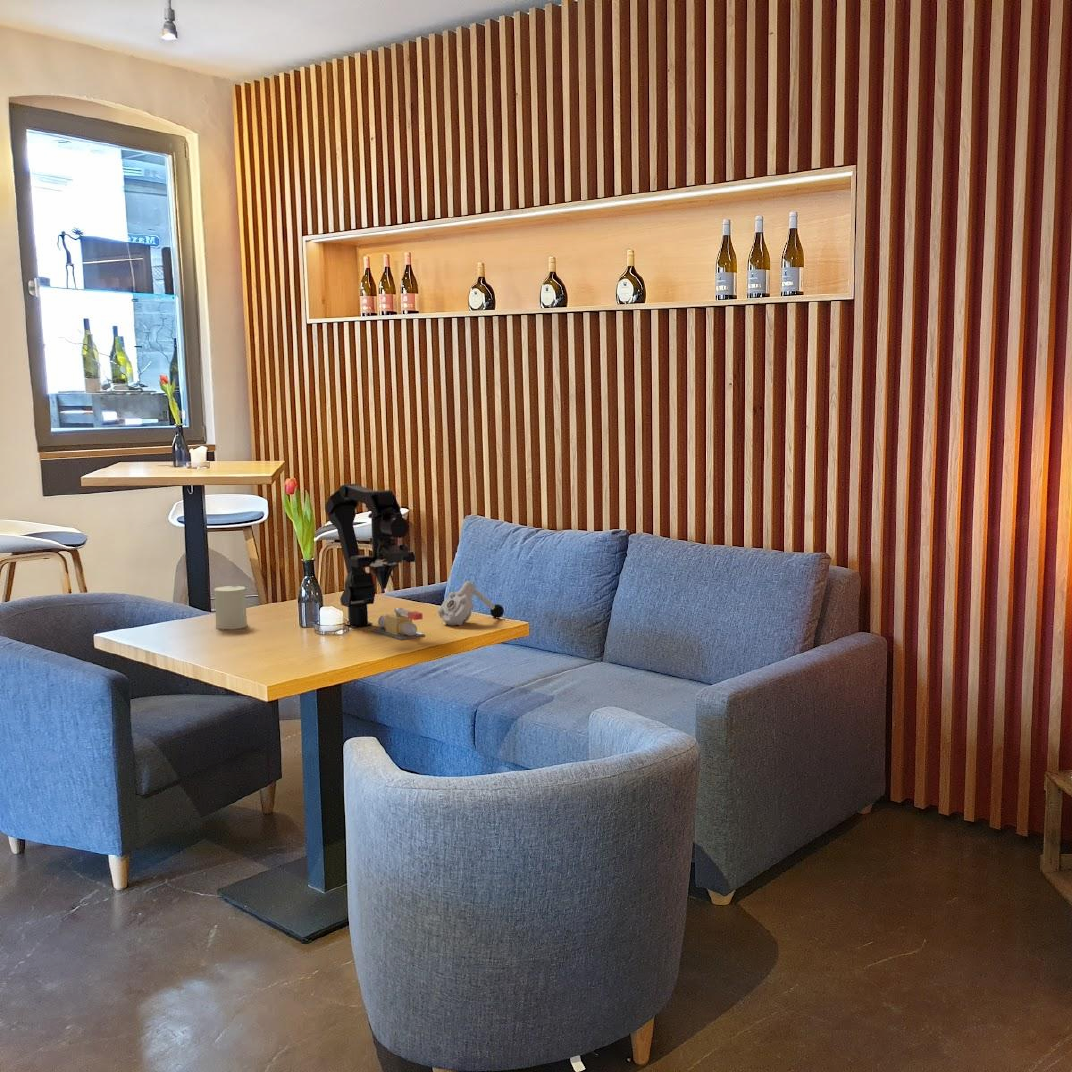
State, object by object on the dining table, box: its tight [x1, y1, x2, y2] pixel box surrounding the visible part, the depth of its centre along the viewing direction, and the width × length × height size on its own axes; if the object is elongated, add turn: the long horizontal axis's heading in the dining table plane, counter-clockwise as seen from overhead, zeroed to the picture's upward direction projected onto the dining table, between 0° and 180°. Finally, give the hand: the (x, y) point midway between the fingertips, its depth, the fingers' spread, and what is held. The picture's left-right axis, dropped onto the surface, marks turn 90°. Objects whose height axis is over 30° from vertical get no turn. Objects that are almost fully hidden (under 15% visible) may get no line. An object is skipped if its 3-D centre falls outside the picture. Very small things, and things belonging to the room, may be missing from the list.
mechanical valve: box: [437, 580, 505, 627], centre depth 340 cm, size 10×18×15 cm
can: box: [213, 585, 248, 630], centre depth 336 cm, size 9×9×12 cm
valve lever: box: [393, 607, 423, 621], centre depth 318 cm, size 13×2×2 cm, turn 36°
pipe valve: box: [370, 613, 426, 641], centre depth 323 cm, size 17×8×6 cm, turn 37°
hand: (383, 588), depth 322 cm, fingers closed
